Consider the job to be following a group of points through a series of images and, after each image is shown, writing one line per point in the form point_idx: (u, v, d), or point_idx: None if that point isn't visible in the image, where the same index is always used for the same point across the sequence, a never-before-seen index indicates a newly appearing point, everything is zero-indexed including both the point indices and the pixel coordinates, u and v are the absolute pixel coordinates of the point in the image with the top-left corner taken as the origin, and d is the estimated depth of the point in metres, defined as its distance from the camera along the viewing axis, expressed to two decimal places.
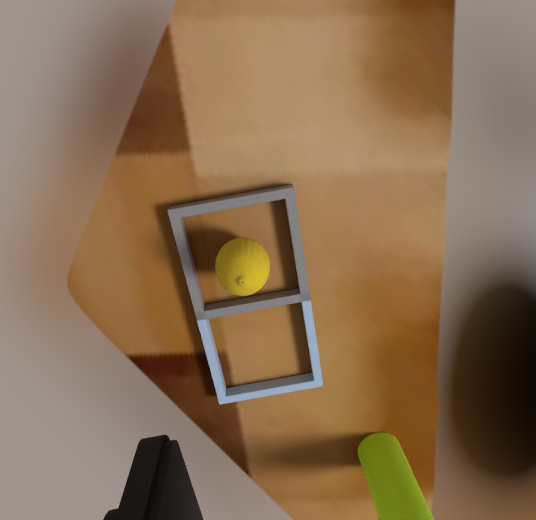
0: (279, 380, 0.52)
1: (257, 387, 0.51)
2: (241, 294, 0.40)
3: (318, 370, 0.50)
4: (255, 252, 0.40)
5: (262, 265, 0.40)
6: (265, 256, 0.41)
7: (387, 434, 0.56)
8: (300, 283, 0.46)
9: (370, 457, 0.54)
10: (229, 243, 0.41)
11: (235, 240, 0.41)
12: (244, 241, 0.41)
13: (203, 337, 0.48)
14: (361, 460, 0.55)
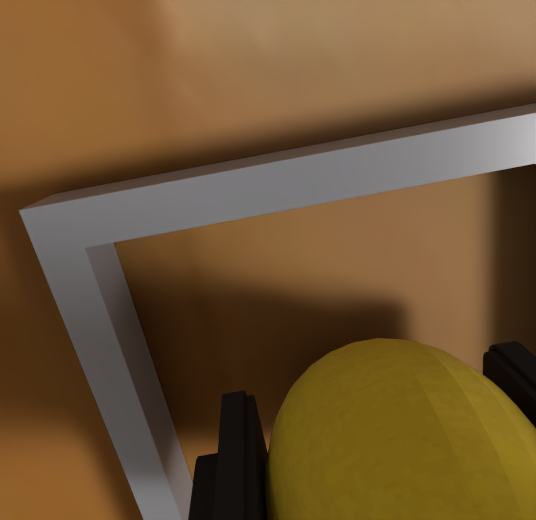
0: None
1: None
2: None
3: None
4: None
5: None
6: None
7: None
8: None
9: None
10: (350, 395, 0.07)
11: (380, 375, 0.07)
12: (441, 387, 0.07)
13: None
14: None
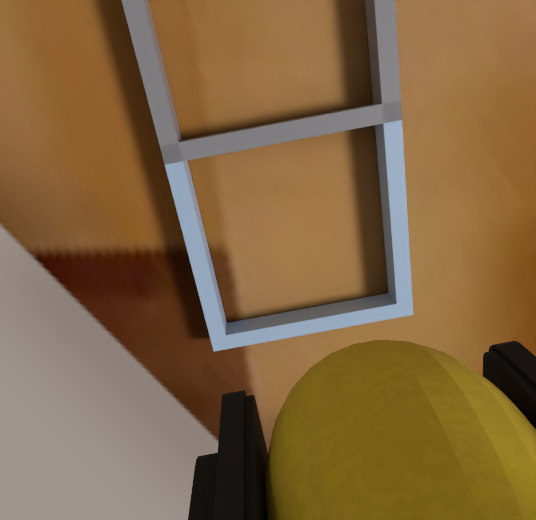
0: (327, 307, 0.27)
1: (286, 319, 0.27)
2: None
3: (406, 281, 0.26)
4: None
5: None
6: None
7: None
8: (383, 77, 0.21)
9: None
10: (350, 397, 0.07)
11: (381, 377, 0.07)
12: (442, 390, 0.07)
13: (179, 204, 0.23)
14: None
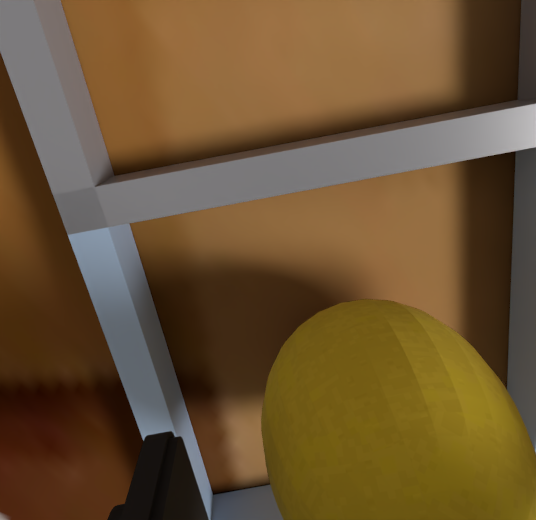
0: None
1: None
2: None
3: None
4: (493, 401, 0.07)
5: None
6: None
7: None
8: None
9: None
10: (332, 336, 0.09)
11: (358, 320, 0.09)
12: (408, 328, 0.08)
13: (105, 315, 0.11)
14: None
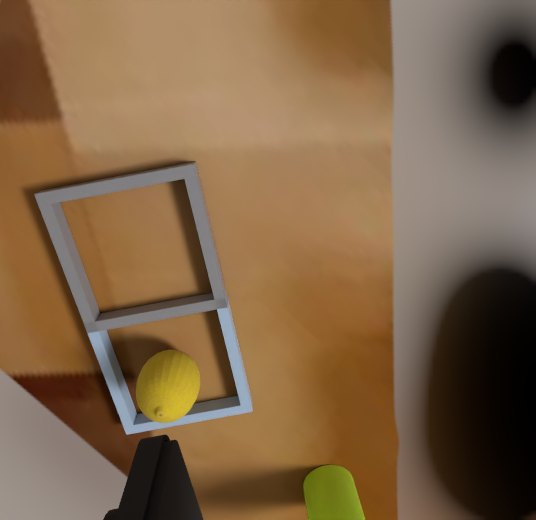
0: (200, 404, 0.43)
1: None
2: (163, 422, 0.35)
3: (244, 393, 0.41)
4: (178, 376, 0.35)
5: (185, 392, 0.35)
6: (192, 377, 0.36)
7: (337, 467, 0.47)
8: (213, 286, 0.37)
9: (313, 497, 0.44)
10: (152, 361, 0.36)
11: (159, 357, 0.37)
12: (168, 359, 0.36)
13: (97, 353, 0.39)
14: (305, 499, 0.46)
